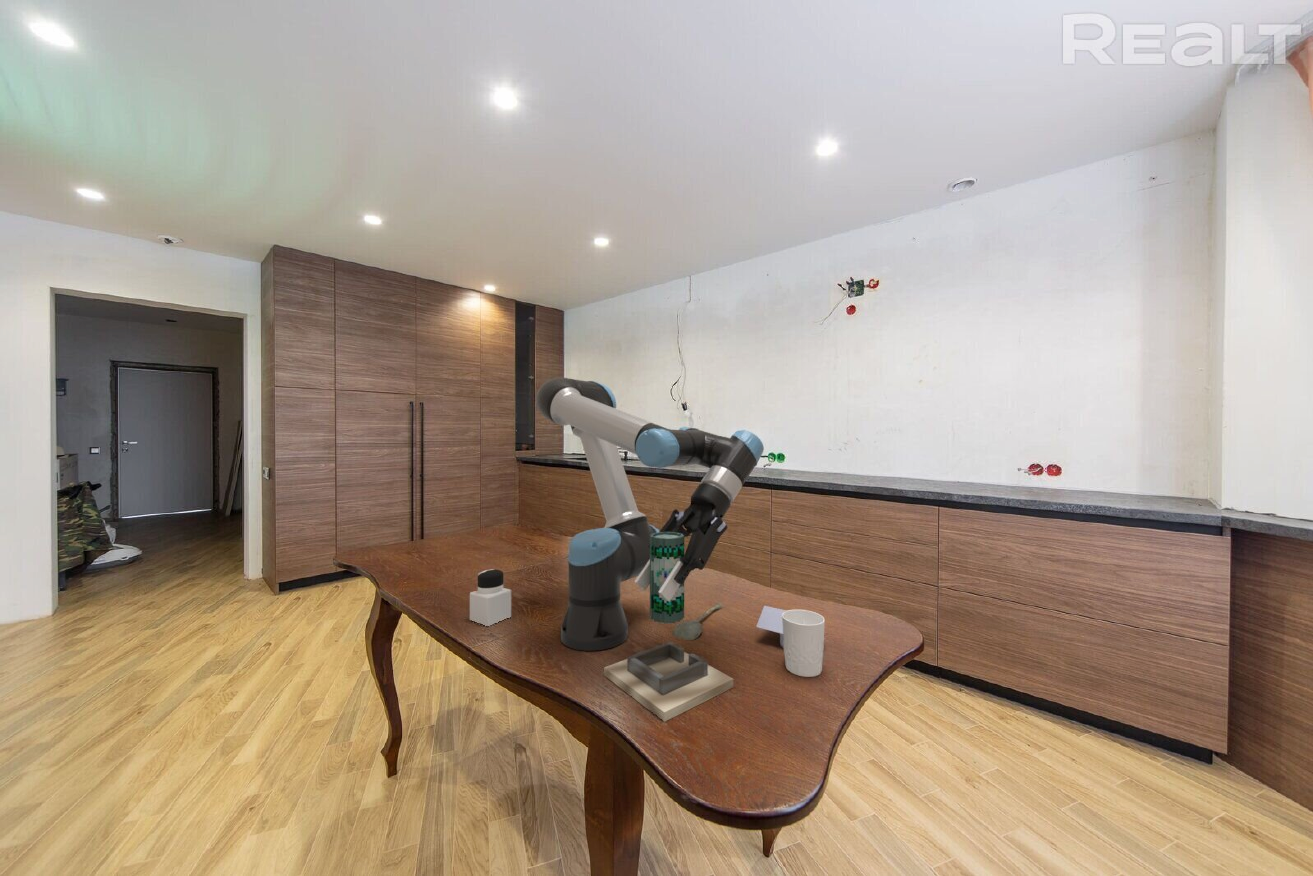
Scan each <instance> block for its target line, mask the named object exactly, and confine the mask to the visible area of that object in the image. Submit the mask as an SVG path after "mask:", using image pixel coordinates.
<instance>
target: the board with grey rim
mask: <svg viewBox="0 0 1313 876" xmlns="http://www.w3.org/2000/svg"><path fill="white" fill-rule="evenodd" d="M708 663H709V661H707V660H705V658H702V657H700V656H698V655H696V654H694V653H693V652H692V653H690V654H689V653H687V652H686V651H685V648H684V647H682V646H679V645H678V644H677V643H674V642H673V641H667V642H665V643H663V644H662V643H661V644H659V645H658V646H655V647H652V648H649V649H646V650H643V651H640V652H637V653H636V654H632V655H630V656H627V658H626V659H624V660H621V661H618V662H615V663H613V664H610V665H606V666H605V667H603V676H604V677H605V678H606V679H608V680H609V681H611V682H612V683H613V684H614V685H616V686H617V687H619V688H620V689H621V690H622V691H624V692H625V693H627V695H629V696H630V697H631V696H632V698H633V699H634V700H636V702H638V703H639V704H640V705H642V706H643V707H645V708H646V709H647V710H649V712H651V713H652V712H653V713H652V714H654V715H655V714H656V715H657V716H658V717H657V716H656V715H655V716H656V717H657V718H659V719H660V720H661V719H662V720H661V721H663V723H665V722H667V721H669V720H671V719H673V718H675V717H678V716H679V715H681V714H683V713H685V712H687V711H689V710H691V709H694V708H695V707H697V706H699V705H701V704H703V703H705V702H707V701H708V700H712V699H713V698H715V697H717V696H719V695H720V694H723V693H725V692H727V691H729V690H730V689H731V690H732V689H733V688H734V678H732V677H731V676H729V675H727V674H725V673H724V672H722V671H720V670H718V669H716V668H714V667H713V666H711V665H709V664H708Z"/></svg>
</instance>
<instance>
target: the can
mask: <svg viewBox="0 0 1313 876" xmlns="http://www.w3.org/2000/svg"><path fill="white" fill-rule="evenodd" d="M684 555H685V537H684V535H683V534H680V533H676V532H659V533H653V534H651V535H650V584H649V618H650V620H651V621H654V622H656V623H659V624H676V623H681V622H682V620H684V618H685V582H684V583H683V584H682V585H681V584H680V586H679V587H678V589H677V591H676V592H675V594H674V595H673V597H672V598H671V600H670V602H669V601H667V600H666V599H665V598H664V597H663V596H662V595H661V594H660V593H659V592H658V591H659V590H660V588H661V587H662V585H663V584H664V582H665V581H666V579H667V578H668V576H669V574H670V573H671V571H672V570H673V568H674V567H675V565H676V564H677V562H678V561H680V562H682V563H683V561H682V560H681V558H682V557H684ZM680 621H681V622H680Z"/></svg>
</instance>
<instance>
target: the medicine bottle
mask: <svg viewBox="0 0 1313 876" xmlns="http://www.w3.org/2000/svg"><path fill="white" fill-rule="evenodd" d="M510 617H511V618H512V589H509V588H506V587H504V572H503V571H502V570H500V569H495V568H494V569H493V568H492V569H486V570H483V571H481V572H479V573H478V574H477V590H474V591H470V593H469V621H470V620H472V621H475V622H477V623H481V624H483V625H485V626H484V627H486V626H489V627H491V626H490V625H492V624H494V623H497V624H498V622H499V621H502V620H504V619H506V618H509V619H510ZM506 620H507V619H506ZM504 621H505V620H504ZM502 622H503V621H502ZM477 623H476V624H477ZM499 623H500V622H499ZM483 625H482V626H483ZM494 625H495V624H494ZM492 626H493V625H492Z"/></svg>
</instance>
